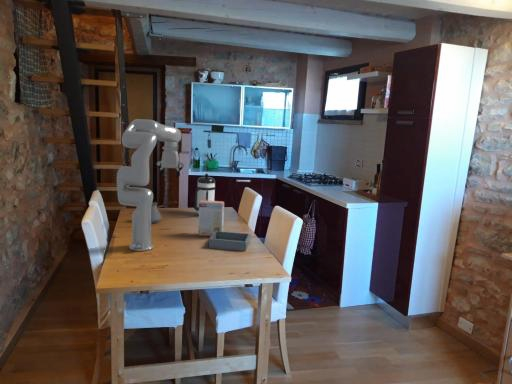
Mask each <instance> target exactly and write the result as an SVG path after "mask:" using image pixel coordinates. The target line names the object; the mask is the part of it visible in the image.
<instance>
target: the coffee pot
mask: <svg viewBox="0 0 512 384" xmlns="http://www.w3.org/2000/svg"><path fill="white" fill-rule="evenodd" d="M174 203H175V204H177V203H178V202H177V200H174V201H173V200H172V201H171V202H167V203H164V204H162V205H158V202H157V201H152V208H151V225H152V224H158V223H159V222H160V221H161V220H162V214H161V213H160V211H159V208H162V207H165V206H169V205H171V204H174Z"/></svg>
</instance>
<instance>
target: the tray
mask: <svg viewBox="0 0 512 384" xmlns="http://www.w3.org/2000/svg"><path fill="white" fill-rule="evenodd" d="M250 239H251V234H250V233H247V232H246V233H243V232H231V231H223V232H222V231H215V232H214V234H213V235H212V236H211V237H209V239H208V248H209V249H218V250H229V251H238V252H239V251H241V252H246V251H247V249H248V246H249V244H250Z"/></svg>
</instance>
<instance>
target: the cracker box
mask: <svg viewBox="0 0 512 384" xmlns="http://www.w3.org/2000/svg"><path fill="white" fill-rule="evenodd" d="M224 217H225V201H222V200H220V201H219V200H215V201H208V200H201V201H200V202H199V214H198V237H207V238H208V237H209V238H210V237H211V236H212V235H213V234H214V232H215V231H222V232H224V223H225V222H224V221H225V220H224V219H225V218H224Z"/></svg>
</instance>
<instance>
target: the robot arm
mask: <svg viewBox="0 0 512 384" xmlns="http://www.w3.org/2000/svg"><path fill="white" fill-rule="evenodd" d="M181 139H182V132H181V130H180V129H179V128H177V127H174V126H170V125H166V124H162V123H160V122H158V121H155V120H153V119H146V118H145V119H141V118H136V119H133V120H132V121H131V122H130V123H129V124H128V126H127V127H126V129H125V130H124V132H123V133H122V136H121V142H122V145H123V146H124V147H125V148H128V149H136V150H135V151H134V152H133V153H132V156H131V163H130V164H131V165H130V166H127V165H125V166H124V165H123V166H121V167H119V169H117V172H116V190H117V200H118V201H117V202H118V203H119V204H120V205H123V206H131V207H136V208H135V209H134V211H133V212H132V215H131V243H130V244H129V245H128V249H129V250H131V251H136V252H146V251H150V250H152V249H154V247H155V244H154V243H152V224H151V208H152V202H154V201H153V200H154V193H153V191H152V190H151V189H149V188H145V187H144V186H147V185H149V183H150V157H151V154H152V153H153V150H154V149H155V147H156V146H157V145H156V144H157V141H160V142H164V146H162V153H161V154H162V156H161V160H159V161H157V162H156V165H157V168H159V171H160V176H161V177H165V170H164V169H175V170H176V178H177V179H178V178H179V177H180V176H181V171H182V170H183V168H184V167H185V163H182V162H181V161H180V155H179V152H178V143H180V141H181ZM132 186H133V187H132ZM135 186H136V187H135Z"/></svg>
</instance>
